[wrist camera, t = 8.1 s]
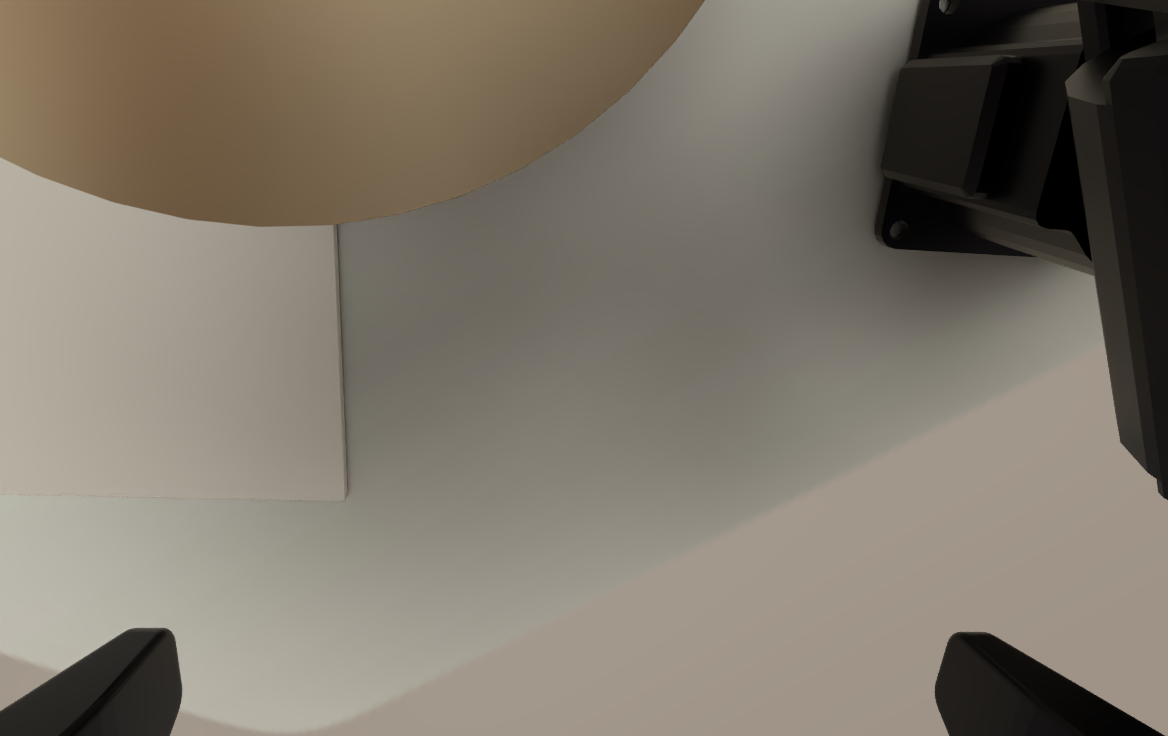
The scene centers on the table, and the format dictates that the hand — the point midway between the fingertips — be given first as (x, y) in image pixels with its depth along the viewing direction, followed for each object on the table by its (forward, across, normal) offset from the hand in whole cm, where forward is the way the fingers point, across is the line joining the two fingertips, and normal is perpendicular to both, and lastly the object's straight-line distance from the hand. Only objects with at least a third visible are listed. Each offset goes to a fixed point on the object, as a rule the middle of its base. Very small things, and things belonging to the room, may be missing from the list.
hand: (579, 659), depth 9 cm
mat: (+13, +12, -1) cm, 18 cm away
